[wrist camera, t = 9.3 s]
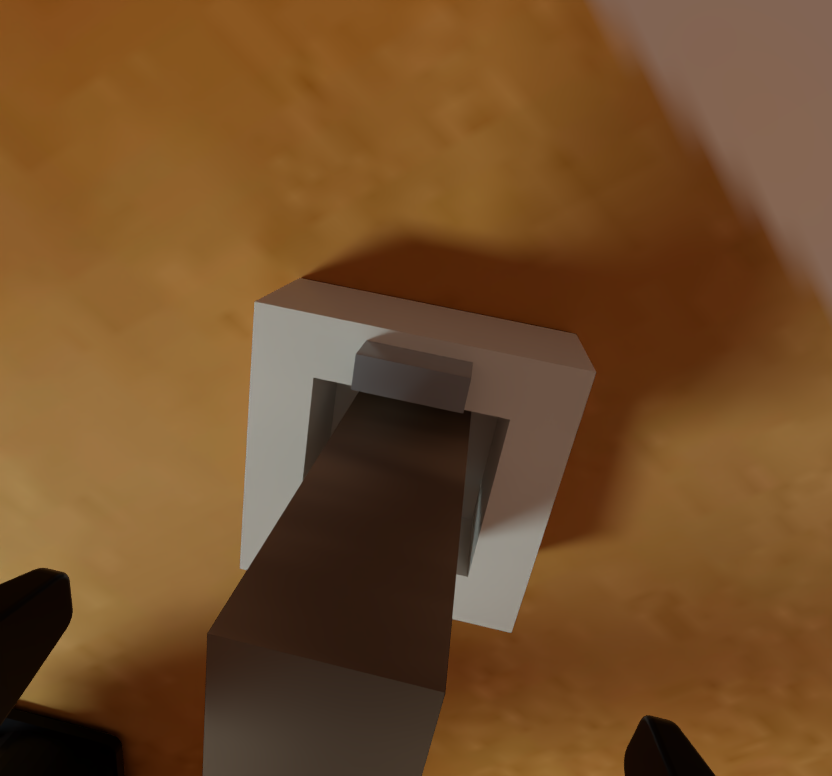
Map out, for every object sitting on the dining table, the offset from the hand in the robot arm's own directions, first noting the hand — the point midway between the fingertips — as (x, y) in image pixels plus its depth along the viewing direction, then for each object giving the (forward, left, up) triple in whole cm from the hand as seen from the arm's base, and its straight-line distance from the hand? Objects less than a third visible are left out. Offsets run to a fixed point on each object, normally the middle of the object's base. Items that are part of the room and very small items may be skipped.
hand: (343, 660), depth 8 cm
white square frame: (0, 0, -8) cm, 8 cm away
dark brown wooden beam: (0, 0, -8) cm, 8 cm away
